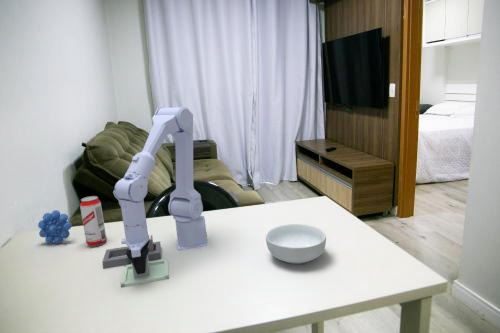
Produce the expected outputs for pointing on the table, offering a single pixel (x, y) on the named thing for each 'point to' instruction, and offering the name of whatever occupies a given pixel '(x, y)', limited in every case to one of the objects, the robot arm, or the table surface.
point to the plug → (147, 272)
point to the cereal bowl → (296, 242)
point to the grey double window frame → (124, 260)
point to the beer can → (93, 221)
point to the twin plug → (151, 244)
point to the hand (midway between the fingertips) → (141, 269)
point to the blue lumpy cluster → (54, 227)
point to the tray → (156, 274)
